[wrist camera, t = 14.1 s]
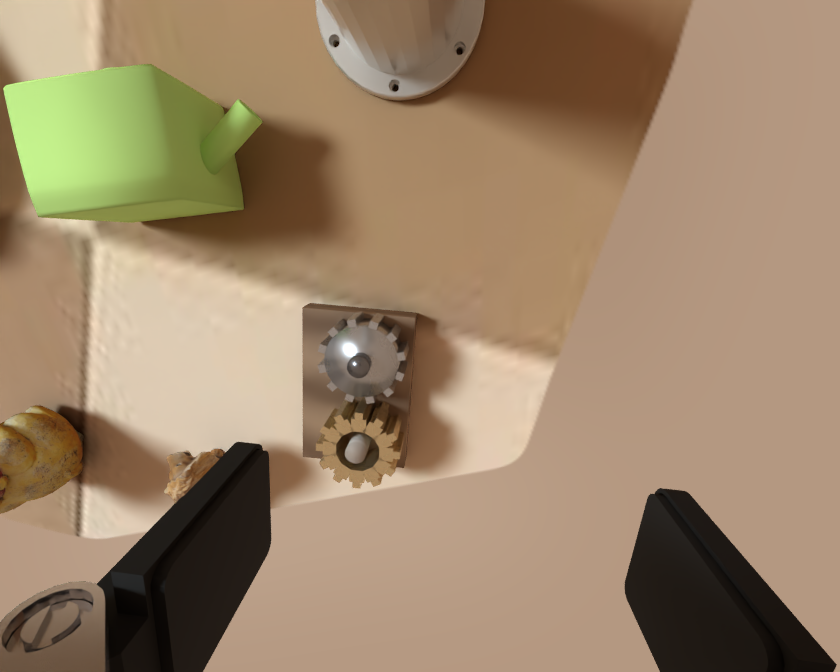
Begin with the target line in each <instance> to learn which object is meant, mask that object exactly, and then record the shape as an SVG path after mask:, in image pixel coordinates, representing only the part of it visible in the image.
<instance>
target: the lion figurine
mask: <svg viewBox="0 0 840 672" xmlns="http://www.w3.org/2000/svg"><path fill="white" fill-rule="evenodd" d="M222 456H223V452H222V451H221V450H220V449H214V450H212V451H211V452H201V453H200V454H199V455H198V456H197V457H195V458H194V457H193V456H192V455H191V453H190V452H189V451H185V452H178V453H175V454H173V455H169V456H168V457H167V462H168V463H169V466H170V472H169V479H170V482H169V483H168V485H167V488H166V489H165V490H164V493H165V494H168V495H170V496H171V497H172V498H173V500H174V502H175V503H176V502H177V501H178V500H179V499H180V498H181V497H183V496H184V495H185V494H186V493H187V492H188V491H189V490H190V489H191V488H192V487H193V486H194V485H195V484H196V483H197V482H198V481H199V480H200V479H201V478H202V477H203V476H204V475H205V474H206V473H207V472H208V470H209V469H210V468H211V467H212V466H213V465H214V464H215V463H216V462H217V461H218V460H219V459H220V458H221V457H222Z"/></svg>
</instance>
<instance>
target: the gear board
mask: <svg viewBox="0 0 840 672" xmlns="http://www.w3.org/2000/svg"><path fill="white" fill-rule="evenodd" d="M362 311H363V314H364V318H371V319H372V318H373V317H374V316H375V314H376V313H379V314H382V315H384V318H383V321H382V322H384V323H385V324H387V325H388V326H390V327H392V326H394V325H395V324H397V325H398V326H399V327H400V328H401V331H400V333H399V336H398V337H399V340H400V342H401V343H402V342H408V346H409V351H408V354H407V357H406V360H404V361H406V362H408V364H407V367H406V371H405V374H404V377H403V379H402V381H399V380H398V381H397V384H396V387H395V390H394V393H392V394H391V395H390V396H389V397H387V396H386V395H385V394H384V393H383V392H382V393H380V394H378V396H377V398H376V401H375V403H374V408H375V406H376V405H377V404H378V405H381V404H382V402H383V401H384V402H386V403H388V404H389V405H390V406H389V409H388V411H389V413H388V415H390V414H392V416H396V415H398V414H399V416H400V418H401V420H402V422H401V426H400V430H399V432H404V441H403V446H402V451H401V455H400V460H399V459H398V461H397V465H396V467H401V468H404V465H405V460H406V452H407V439H408V426H409V413H410V400H411V386H412V373H413V360H414V347H415V334H416V321H417V313H412V312H401V311H390V310H380V309H369V308H358V307H347V306H336V305H325V304H314V303H309V304H308V305H306V306H304V307H303V457H311V458H320V459H322V457H323V456H324V455H323V451H316V443H317V441H318V439H319V438H320V436H321V434H322V433H321V432H320V430H321V429H322V427H323V425H324V424H325V422H326V421H327V419H328V417H329V416H330V414H331V413H332V411H333V410H334V408H336V409H337V410H339V408H340V406H341V405H342V403H343V401H344V400H345V397H346V394H347V393H345V392H343V391H341V390H340V389H339V388H338V387H337V388H336V389H335V390H334V391H333V392H332V391H331V390H330V389H329V388H328V387H327V385H328V383H329V382H330V381H331V379H330V378H329V376H328V374H327V372H325V373H319V369H318V365H319V363H320V362H321V361H322V360H323V359H324V357H325V354H323V353H320V352H318V349H319V345H320V343H321V342H323V341H324V340H325V339H326V338H327V337H328V336H329V335H330V334H329V333H328V331H329V330H330V329H332V328H333V327H334V326H335V325H336V324H337V323H338V322H339V321H340V320H342V319H344V320H345V321H346V322H347V320H348V319H349V318H350V317H351V316H352V315H353V314H354V313H356V312H362ZM346 325H347V324H346ZM361 399H362V397H355V398H354V400H353V403H355V402H357V404H359V402H360V401H361ZM346 435H347V437H348V439H349V441H350V442H349V444H348V446H347V448H346V450H345V457H346V458H347V460H348V461H350V462H352V463H361V462H362V461H363V460H364V459H365V457H366V454H367V451H368V450H371V449H374V448H376V447H378V445H377V443H376V442H375V440H374V439H373V438H372V437H370V436H369V435H367V434H365V433H362V432H353V431H352V432H350V433H348V434H346Z"/></svg>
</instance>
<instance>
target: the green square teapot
mask: <svg viewBox="0 0 840 672" xmlns="http://www.w3.org/2000/svg"><path fill="white" fill-rule="evenodd" d="M3 90H4V95H5V100H6V104H7V109H8V113H9V118H10V122H11V127H12V131H13V135H14V139H15V144H16V148H17V152H18V155H19V159H20V163H21V167H22V171H23V174H24V178H25V181H26V185H27V188H28V192H29V194H30V197H31V200H32V202H33V205H34V208H35V210H36V212H37V215H38V217H44V218H60V219H78V220H95V221H113V222H142V221H151V220H160V219H169V218H177V217H186V216H195V215H203V214H211V213H220V212H228V211H236V210H243V209H244V203H243V194H242V188H241V182H240V177H239V172H238V168H237V163H236V158H235V153H236V152H237V151H238V149H239V148H240V147H241V146H242V145H243V144H244V143H245V142H246V140H247V139H248V138H249V137H250V136H251V135H252V134H253V133H254V131H255V130H256V129H257V128H258V127H259V126H260V125H261V124H262V122H263V121H262V120H261V119H260V118H259V117H258V116H257V115H256V114H255V113H254V112H253V111H252V110H251V109H250V108H249V107H248V106H247V105H246V104H244V103H243V102H242V101H241V100H239V99H238V100H237V101H236V102H235V103H234V105H233V106H232V107H231V108H230V109H229V111H228V112H227V113H226V114H225V113H224V109H223V108H222V106H220V105H218V104H217V103H215V102H214V101H212V100H210V99H209V98H207V97H206V96H204V95H202V94H201V93H199V92H197V91H196V90H194V89H193V88H191V87H189V86H188V85H186V84H184V83H183V82H181V81H179V80H177V79H176V78H174V77H172V76H171V75H169V74H167V73H165V72H164V71H162V70H160V69H159V68H157V67H155V66H154V65H152V64H143V65H134V66H126V67H118V68H116V67H113V68H106V69H102V70H96V71H89V72H82V73H75V74H68V75H62V76H56V77H49V78H43V79H37V80H31V81H25V82H19V83H14V84H9V85H6V86H5V87H4V88H3Z"/></svg>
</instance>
